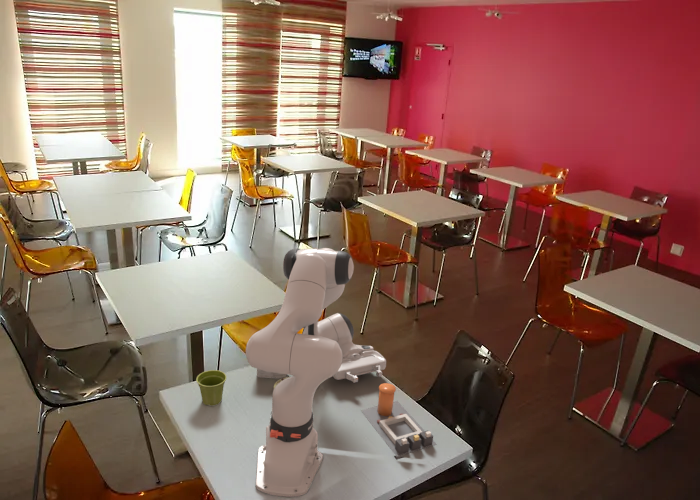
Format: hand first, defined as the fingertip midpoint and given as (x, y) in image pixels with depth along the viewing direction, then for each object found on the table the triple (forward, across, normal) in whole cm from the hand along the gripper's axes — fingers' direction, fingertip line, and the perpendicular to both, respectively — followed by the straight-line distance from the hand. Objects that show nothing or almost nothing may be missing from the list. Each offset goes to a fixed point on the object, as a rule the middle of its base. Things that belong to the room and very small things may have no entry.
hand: (368, 377), depth 182 cm
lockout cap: (+12, 0, +5) cm, 13 cm away
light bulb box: (-23, -26, +6) cm, 35 cm away
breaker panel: (+20, 0, +6) cm, 21 cm away
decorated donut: (-10, -25, +7) cm, 27 cm away
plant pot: (-15, -50, +6) cm, 52 cm away
